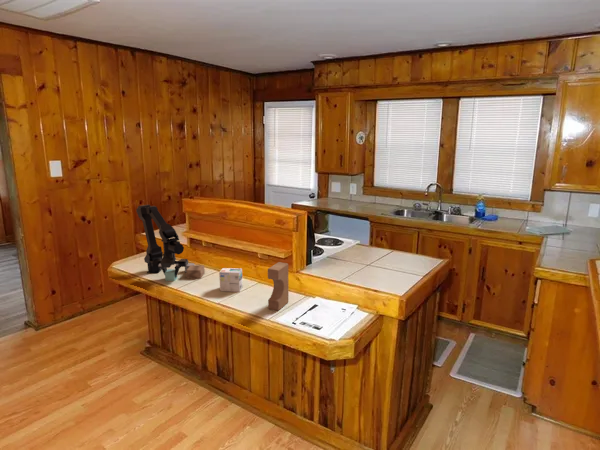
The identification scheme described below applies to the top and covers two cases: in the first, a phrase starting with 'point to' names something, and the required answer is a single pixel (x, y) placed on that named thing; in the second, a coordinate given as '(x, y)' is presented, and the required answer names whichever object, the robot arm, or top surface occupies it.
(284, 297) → the decorative block
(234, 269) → the light bulb box
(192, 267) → the walnut block
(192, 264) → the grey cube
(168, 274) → the teal cube
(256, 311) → the top surface
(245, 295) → the top surface
